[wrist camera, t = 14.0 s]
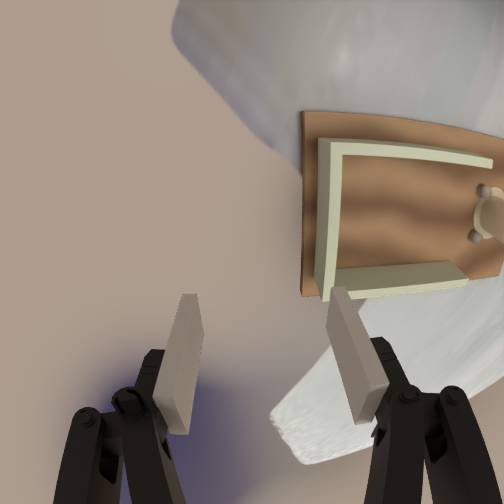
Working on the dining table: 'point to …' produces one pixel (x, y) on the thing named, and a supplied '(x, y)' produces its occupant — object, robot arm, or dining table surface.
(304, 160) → the board
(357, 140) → the pale green open frame
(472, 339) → the dining table surface
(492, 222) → the beige rounded cylinder
